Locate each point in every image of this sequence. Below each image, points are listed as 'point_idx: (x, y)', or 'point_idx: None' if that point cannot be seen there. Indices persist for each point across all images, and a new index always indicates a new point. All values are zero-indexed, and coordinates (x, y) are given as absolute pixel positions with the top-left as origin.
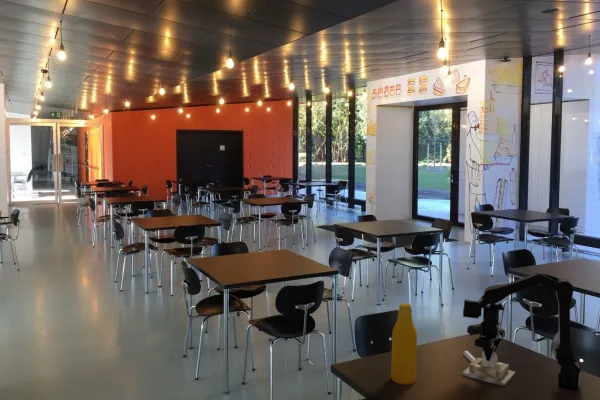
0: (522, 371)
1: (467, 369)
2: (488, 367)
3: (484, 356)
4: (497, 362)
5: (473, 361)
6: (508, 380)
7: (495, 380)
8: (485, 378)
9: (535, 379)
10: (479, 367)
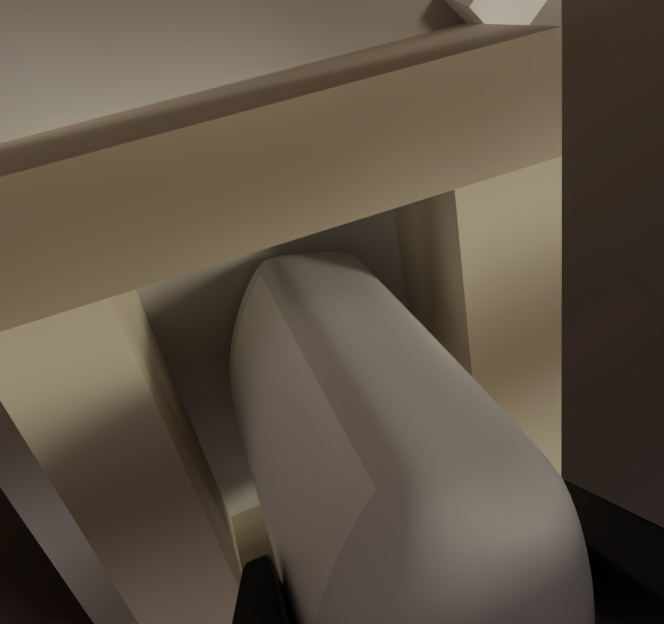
0: (650, 448)
1: (39, 31)
2: (197, 518)
3: (312, 534)
4: (538, 430)
5: (215, 128)
6: None
7: (103, 579)
8: (16, 489)
9: None
10: (25, 438)
